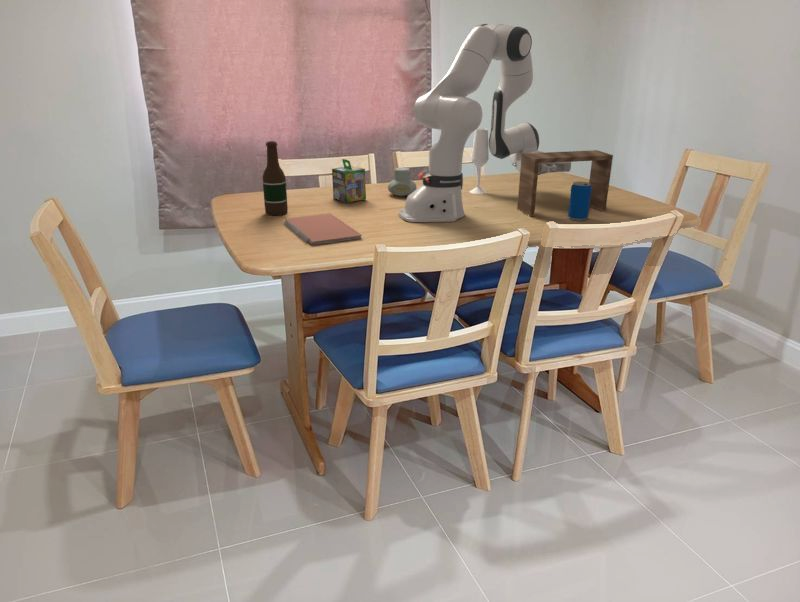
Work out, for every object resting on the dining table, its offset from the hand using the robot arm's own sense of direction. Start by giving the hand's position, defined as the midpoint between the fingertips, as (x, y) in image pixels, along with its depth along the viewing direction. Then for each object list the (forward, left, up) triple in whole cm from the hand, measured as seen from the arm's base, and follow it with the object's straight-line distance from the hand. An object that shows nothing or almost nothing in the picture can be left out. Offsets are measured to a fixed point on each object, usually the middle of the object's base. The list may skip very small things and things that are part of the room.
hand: (553, 169), depth 222 cm
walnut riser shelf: (0, -7, -13) cm, 15 cm away
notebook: (-85, -10, -14) cm, 87 cm away
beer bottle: (-97, +14, -13) cm, 98 cm away
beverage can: (+1, -18, -13) cm, 22 cm away
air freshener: (-48, +29, -13) cm, 57 cm away
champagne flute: (-18, +26, -13) cm, 34 cm away
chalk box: (-69, +27, -13) cm, 75 cm away
